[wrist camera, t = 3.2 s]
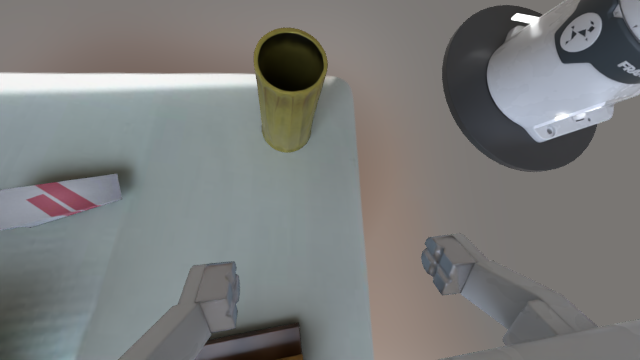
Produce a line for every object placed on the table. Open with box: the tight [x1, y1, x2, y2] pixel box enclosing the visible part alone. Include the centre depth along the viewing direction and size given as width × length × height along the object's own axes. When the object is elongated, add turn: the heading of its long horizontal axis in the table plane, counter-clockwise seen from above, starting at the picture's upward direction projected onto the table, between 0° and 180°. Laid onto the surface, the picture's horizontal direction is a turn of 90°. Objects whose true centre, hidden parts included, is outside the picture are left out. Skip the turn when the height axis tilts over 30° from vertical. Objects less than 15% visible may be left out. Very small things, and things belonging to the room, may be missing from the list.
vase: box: [254, 28, 328, 152], centre depth 24 cm, size 6×6×14 cm
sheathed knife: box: [0, 174, 122, 230], centre depth 24 cm, size 4×3×20 cm
